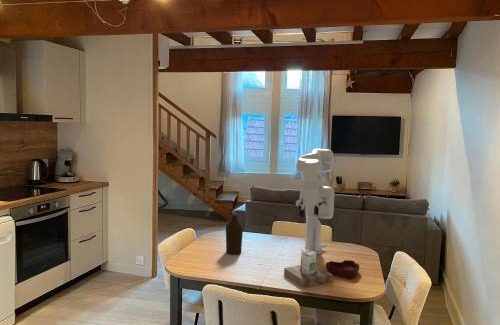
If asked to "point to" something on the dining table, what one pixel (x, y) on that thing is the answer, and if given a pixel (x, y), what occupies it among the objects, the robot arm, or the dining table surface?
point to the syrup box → (308, 262)
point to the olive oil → (234, 236)
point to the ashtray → (343, 268)
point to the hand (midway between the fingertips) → (308, 215)
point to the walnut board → (308, 276)
